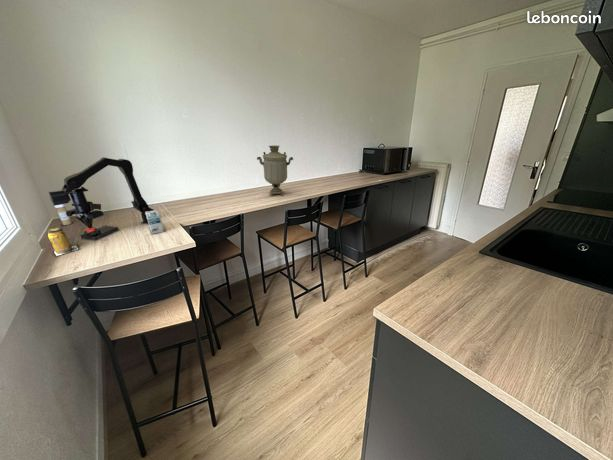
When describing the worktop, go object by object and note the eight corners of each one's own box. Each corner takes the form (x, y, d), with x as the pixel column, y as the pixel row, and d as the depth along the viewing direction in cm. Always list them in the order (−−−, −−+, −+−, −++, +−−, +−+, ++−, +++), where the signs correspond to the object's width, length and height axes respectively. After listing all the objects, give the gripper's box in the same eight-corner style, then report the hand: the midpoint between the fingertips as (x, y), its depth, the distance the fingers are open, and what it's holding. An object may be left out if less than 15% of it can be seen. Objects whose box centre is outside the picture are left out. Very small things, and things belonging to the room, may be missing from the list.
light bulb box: (164, 231, 146) (160, 214, 142) (151, 234, 143) (146, 216, 138) (162, 225, 154) (157, 209, 150) (149, 228, 151) (144, 211, 146)
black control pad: (119, 230, 149) (116, 224, 147) (95, 240, 136) (92, 234, 134) (105, 228, 151) (103, 222, 149) (80, 239, 138) (78, 232, 136)
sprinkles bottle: (73, 222, 161) (64, 202, 155) (70, 224, 157) (62, 204, 152) (64, 223, 159) (55, 203, 154) (61, 225, 155) (52, 205, 150)
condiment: (54, 251, 125) (43, 229, 120) (75, 245, 131) (66, 224, 126) (56, 256, 121) (45, 233, 116) (79, 249, 127) (69, 228, 122)
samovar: (298, 190, 229) (297, 144, 213) (290, 198, 206) (288, 147, 190) (267, 188, 236) (264, 143, 219) (256, 196, 212) (251, 146, 196)
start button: (98, 230, 140) (96, 227, 139) (91, 233, 136) (89, 229, 135) (92, 229, 141) (91, 226, 140) (85, 232, 137) (83, 229, 136)
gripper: (108, 197, 136) (117, 224, 143) (82, 195, 141) (91, 221, 147) (87, 203, 127) (98, 231, 133) (59, 201, 131) (71, 228, 137)
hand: (90, 228), depth 138 cm, fingers closed
